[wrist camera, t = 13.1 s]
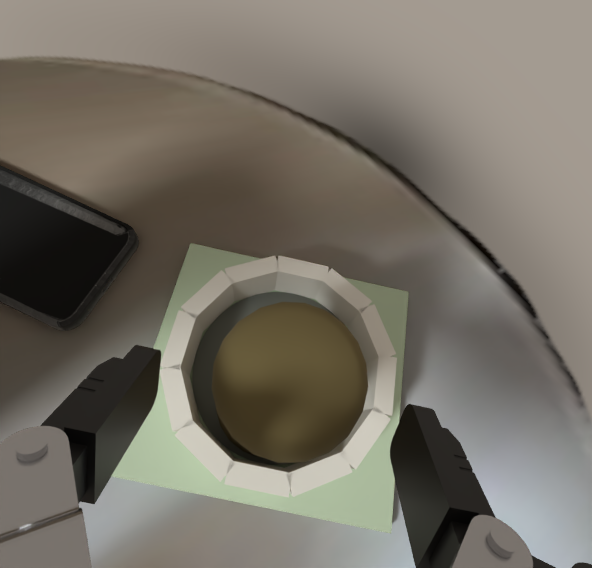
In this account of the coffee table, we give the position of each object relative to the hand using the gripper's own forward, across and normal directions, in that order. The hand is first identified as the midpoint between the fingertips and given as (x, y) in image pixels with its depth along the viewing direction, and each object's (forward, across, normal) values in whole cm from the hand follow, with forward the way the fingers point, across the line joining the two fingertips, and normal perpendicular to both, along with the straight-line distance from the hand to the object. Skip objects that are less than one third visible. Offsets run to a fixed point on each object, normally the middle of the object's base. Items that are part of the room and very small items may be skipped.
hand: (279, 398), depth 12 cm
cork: (+8, 0, +6) cm, 10 cm away
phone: (+14, +19, +3) cm, 23 cm away
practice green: (+9, 0, +6) cm, 11 cm away
